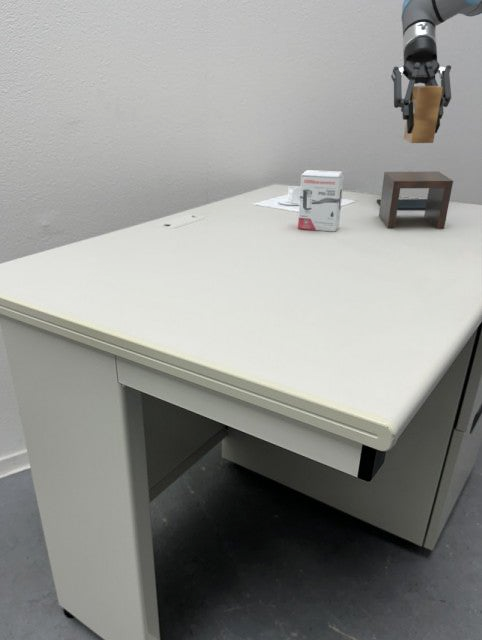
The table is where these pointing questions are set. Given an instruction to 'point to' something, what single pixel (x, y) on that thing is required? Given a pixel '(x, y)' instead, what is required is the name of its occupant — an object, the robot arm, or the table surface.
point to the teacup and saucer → (290, 200)
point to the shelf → (432, 180)
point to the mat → (410, 204)
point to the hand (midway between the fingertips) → (423, 129)
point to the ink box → (320, 200)
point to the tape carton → (424, 113)
